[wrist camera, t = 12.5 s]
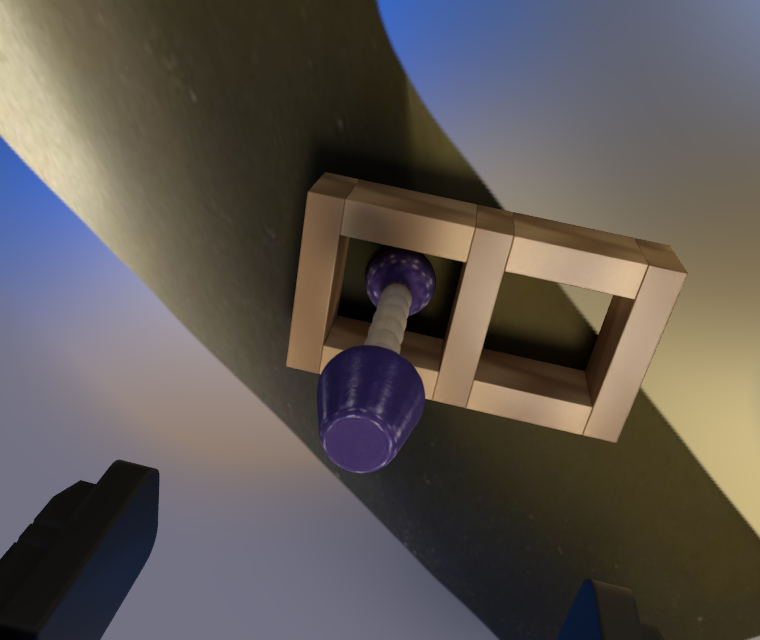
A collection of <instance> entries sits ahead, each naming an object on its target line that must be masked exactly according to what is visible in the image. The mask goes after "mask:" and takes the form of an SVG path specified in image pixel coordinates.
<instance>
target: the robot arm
mask: <svg viewBox="0 0 760 640" xmlns="http://www.w3.org/2000/svg"><path fill="white" fill-rule="evenodd" d="M158 502H159V471H158V470H157V469H155V468H151V467H147V466H143V465H139V464H135V463H131V462H126V461H123V460H116V461H115V462H114V463H113V464H112V465H111V466H110V467H109V468H108V470H107V471H106V472H105V474H104V475H103V476H102V477H101V479H100V480H99V481H98V482H97V484H93V483H89V482H85V481H81V480H80V481H78V482H77V483H75V484H74V485H72V486H70V487H69V488H67V489H65V490H64V491H62V492H61V493H59V494H57V495H55V496H54V497H53V498H52V499H51V500H50V501H49V503H48V504H47V505H46V506H45V507H44V508H43V510H42V511H41V512H40V513H39V514H38V515H37V517H36V518H35V519H34V522H33V524H30V525H29V526H28V527H27V528H26V530H25V531H24V532H23V533H22V534H21V535H20V537H19V539H18V541H17V543H16V542H15V543H14V544H13V545H12V546H11V547H10V549H9V550H8V551H7V552H6V553H5V554H4V556H3V557H2V558H1V559H0V640H100V639H101V637H102V636H103V634H104V632H105V631H106V629H107V627H108V626H109V624H110V622H111V621H112V619H113V617H114V616H115V614H116V612H117V611H118V609H119V607H120V606H121V604H122V602H123V600H124V599H125V597H126V595H127V594H128V592H129V590H130V589H131V587H132V585H133V584H134V582H135V580H136V578H137V577H138V575H139V573H140V572H141V570H142V568H143V567H144V565H145V563H146V561H147V560H148V558H149V556H150V553H151V551H152V548H153V545H154V542H155V538H156V534H157V527H158V504H159V503H158ZM557 640H664V638H663V636H662V635H661V633H660V632H659V630H658V629H657V627H653V626H649V625H645V624H641V623H640V620H639V616H638V611H637V607H636V603H635V599H634V595H633V593H632V591H631V590H630V589H628V588H624V587H620V586H616V585H612V584H608V583H604V582H600V581H596V580H592V579H586V580H585V581H584V582H583V584H582V586H581V588H580V590H579V592H578V594H577V596H576V598H575V600H574V602H573V605H572V607H571V609H570V611H569V613H568V615H567V617H566V619H565V621H564V624H563V626H562V628H561V630H560V632H559V635H558V639H557Z"/></svg>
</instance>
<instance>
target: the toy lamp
mask: <svg viewBox="0 0 760 640" xmlns="http://www.w3.org/2000/svg"><path fill="white" fill-rule="evenodd" d="M365 284H366V290H367V293H368V296H369V298H370V300H371V301H372V303H373V304H374V305H375V306H376V307H377V311H376V312H375V314H374V316H373V320H372V324H371V326H370V327H369V330H368V337H367V339H366V341H365V343H364V345H361V346H354V347H351V348H348V349H346V350H344V351H342V352H340V353H339V354H337V355H336V356H334V357H333V358H332V359H331V360H330V361H329V362H328V363H327V365H326V366H325V368H324V369H323V371H322V373H321V375H320V378H319V382H318V389H317V404H318V421H319V435H320V440H321V444H322V448H323V450H324V452H325V453H326V455H327V456H328V458H329V459H330V460H331V461H332V462H333V463H334V464H336V465H337V466H339V467H340V468H342V469H345V470H347V471H350V472H354V473H368V472H373V471H376V470H379V469H381V468H382V467H384V466H386V465H387V464H388V463H389V462H390V461H391V460H392V459H393V458H394V457H395V456H396V454H397V453H398V451H399V450H400V448H401V447H402V446H403V444H404V443H405V441H406V440H407V438H408V437H409V435H410V433H411V432H412V430H413V429H414V427H415V426H416V424H417V423H418V421H419V419H420V417H421V415H422V412H423V409H424V405H425V390H424V385H423V381H422V378H421V377H420V375H419V373H418V372H417V370H416V368H415V367H414V366H413V365H412V364H411V363H410V362H409V361H408V360H407V359H406V358H405V357H403V356H401V355H400V349H401V348H400V344H401V343H402V340H403V337H404V330H405V328H406V325H407V318H408V316H410V315H413V314H415V313H417V312H419V311H421V310H422V309H423V308H425V306H426V305H427V304H428V303H429V302H430V300H431V299H432V297H433V294H434V292H435V288H436V278H435V274H434V271H433V269H432V266H431V265H430V264H429V262H428V261H427V260H426V259H425V258H424V257H423V256H421V255H420V254H418V253H416V252H415V251H411V250H407V249H402V248H397V249H390V250H388V251H385V252H383V253H381V254H379V255H378V256H377V257H376V258H375V259H374V260H373V261H372V262H371V263H370V265H369V267H368V269H367V272H366V277H365Z"/></svg>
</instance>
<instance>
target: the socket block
mask: <svg viewBox="0 0 760 640" xmlns="http://www.w3.org/2000/svg"><path fill="white" fill-rule="evenodd" d="M350 237H352V238H357V239H361V240H366V241H370V242H375V243H379V244H384V245H389V246H393V247H398V248H402V249H407V250H411V251H416V252H420V253H425V254H430V255H434V256H439V257H443V258H448V259H452V260H457V261H462V262H463V265H462V269H461V273H460V277H459V281H458V285H457V289H456V293H455V297H454V301H453V305H452V309H451V313H450V317H449V321H448V325H447V329H446V333H445V337H444V340H443V339H440V338H435V337H431V336H427V335H422V334H418V333H413V332H409V331H405V330H404V337H403V340H402V343H401V344H400V348H401V349H400V355H401V356H403V357H405V358H406V359H407V360H408V361H409V362H410V363H411V364H412V365H413V366H414V367H415V368H416V370H417V372H418V373H419V375H420V377H421V378H422V381H423V385H424V390H425V399H429V400H433V401H438V402H442V403H446V404H450V405H455V406H459V407H463V408H468V409H472V410H476V411H481V412H485V413H489V414H494V415H498V416H502V417H507V418H511V419H515V420H520V421H524V422H528V423H532V424H537V425H541V426H545V427H550V428H554V429H558V430H563V431H567V432H571V433H576V434H580V435H585V436H589V437H593V438H598V439H602V440H606V441H611V442H615V443H616V442H617V440H618V438H619V436H620V433H621V431H622V429H623V426H624V424H625V421H626V419H627V417H628V414H629V412H630V410H631V407H632V405H633V403H634V400H635V398H636V395H637V393H638V391H639V388H640V386H641V384H642V381H643V379H644V377H645V374H646V372H647V369H648V367H649V365H650V362H651V360H652V358H653V355H654V353H655V351H656V348H657V345H658V343H659V341H660V339H661V336H662V334H663V332H664V329H665V327H666V325H667V322H668V320H669V318H670V315H671V313H672V310H673V308H674V306H675V303H676V301H677V298H678V296H679V294H680V291H681V289H682V286H683V284H684V282H685V280H686V277H687V275H688V272H687V271H686V269H685V268H684V266H683V265H682V263H681V262H680V260H679V259H678V257H677V256H676V254H675V253H674V251H673V250H672V248H671V247H670V246H669V245H663V244H659V243H655V242H650V241H645V240H641V239H634V238H631V237H627V236H622V235H617V234H613V233H608V232H604V231H599V230H594V229H589V228H585V227H580V226H575V225H571V224H566V223H561V222H557V221H552V220H548V219H543V218H538V217H533V216H529V215H524V214H519V213H515V212H514V213H512V212H510V211H505V210H501V209H496V208H491V207H487V206H482V205H477V204H473V203H468V202H463V201H458V200H454V199H449V198H444V197H440V196H435V195H430V194H426V193H421V192H416V191H412V190H407V189H402V188H398V187H393V186H388V185H384V184H379V183H374V182H370V181H365V180H358V179H355V178H351V177H346V176H341V175H337V174H332V173H327V172H325V173H324V174H323V175H322V176H321V177H320V178H319V180H318V181H317V182H316V183H315V184H314V185H313V186H312V187H311V188H310V190H309V191H308V193H307V201H306V209H305V217H304V225H303V233H302V241H301V249H300V257H299V266H298V274H297V282H296V290H295V298H294V306H293V314H292V322H291V330H290V338H289V347H288V355H287V363H286V366H287V367H292V368H296V369H300V370H305V371H309V372H313V373H319V374H321V373H322V371H323V369H324V368H325V366H326V365H327V363H328V362H329V361H330V360H331V359H332V358H333V357H334V356H336V355H337V354H339V353H340V352H342V351H344V350H346V349H348V348H351V347H354V346H361V345H364V343H365V341H366V339H367V337H368V330H369V327H370V326H371V324H372V323H369V322H365V321H360V320H356V319H352V318H347V317H343V316H337V314H338V308H339V302H340V295H341V289H342V283H343V277H344V270H345V264H346V258H347V252H348V245H349V239H350ZM504 270H505V271H507V272H512V273H516V274H521V275H525V276H530V277H534V278H539V279H543V280H548V281H553V282H557V283H562V284H567V285H571V286H575V287H580V288H585V289H589V290H594V291H598V292H603V293H607V294H612V295H613V298H612V300H611V303H610V306H609V308H608V311H607V314H606V316H605V319H604V322H603V325H602V327H601V330H600V332H599V335H598V338H597V340H596V343H595V346H594V348H593V351H592V354H591V356H590V359H589V362H588V365H587V367H586V370H585V372H584V371H582V370H577V369H573V368H568V367H564V366H559V365H555V364H551V363H546V362H542V361H537V360H533V359H529V358H524V357H520V356H515V355H511V354H506V353H502V352H498V351H493V350H489V349H484V348H483V345H484V341H485V338H486V334H487V331H488V327H489V324H490V320H491V316H492V313H493V309H494V306H495V302H496V299H497V295H498V292H499V288H500V285H501V281H502V277H503V274H504Z"/></svg>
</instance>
